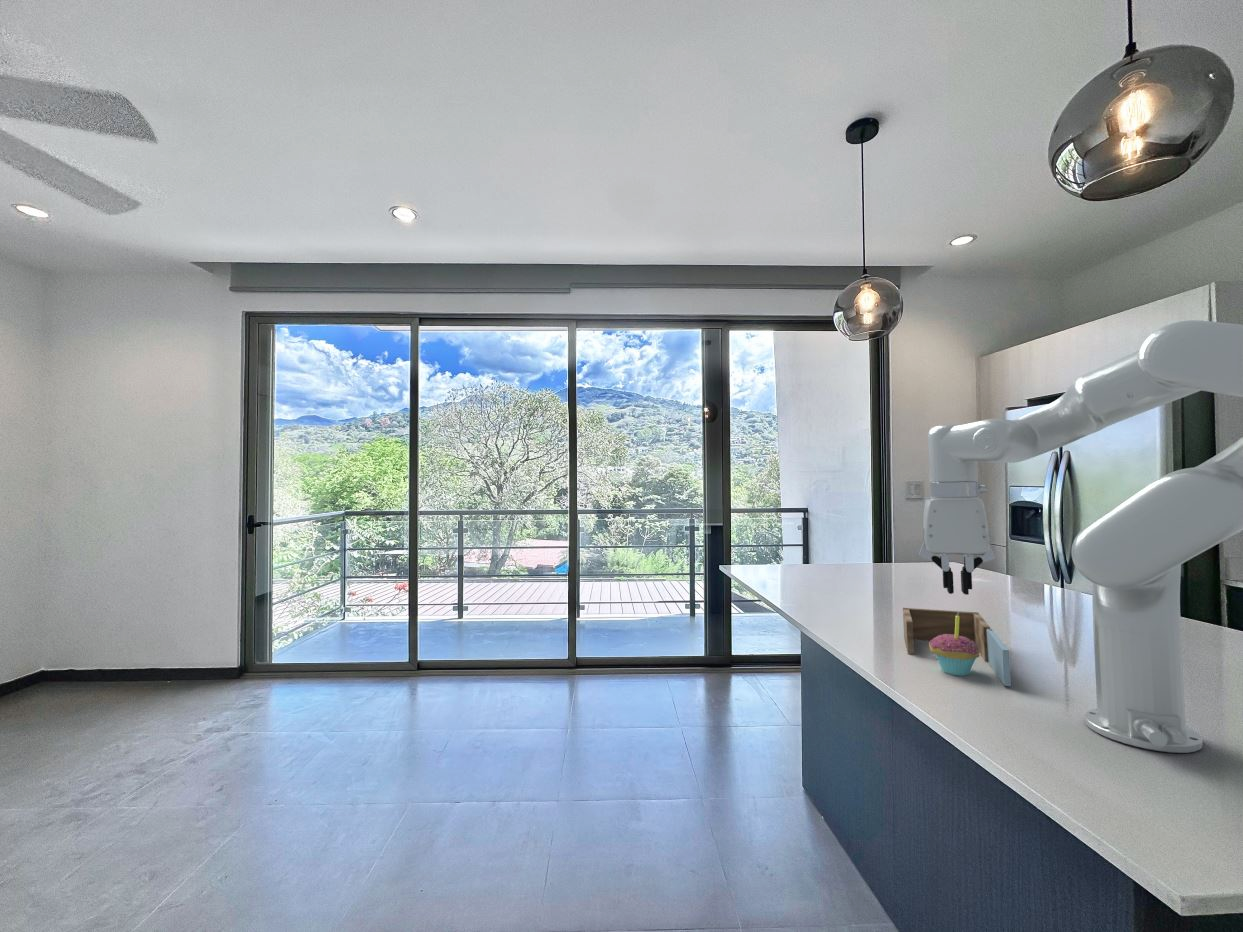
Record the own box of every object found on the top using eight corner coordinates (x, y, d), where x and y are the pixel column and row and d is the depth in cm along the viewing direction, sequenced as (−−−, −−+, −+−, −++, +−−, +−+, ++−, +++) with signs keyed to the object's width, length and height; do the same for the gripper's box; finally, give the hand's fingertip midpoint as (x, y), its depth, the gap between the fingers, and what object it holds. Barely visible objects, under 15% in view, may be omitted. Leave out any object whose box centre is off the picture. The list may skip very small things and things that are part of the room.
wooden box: (991, 661, 114) (990, 627, 114) (907, 654, 120) (906, 621, 121) (979, 643, 127) (978, 612, 127) (904, 637, 133) (902, 607, 133)
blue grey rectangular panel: (993, 660, 114) (991, 629, 114) (1010, 686, 100) (1009, 650, 100) (987, 660, 114) (986, 628, 114) (1004, 685, 100) (1002, 649, 100)
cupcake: (990, 678, 105) (987, 614, 105) (945, 679, 105) (942, 615, 105) (963, 664, 113) (961, 604, 114) (921, 664, 113) (919, 605, 114)
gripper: (1000, 490, 102) (1004, 591, 102) (904, 492, 109) (907, 586, 108) (1009, 491, 95) (1014, 599, 95) (906, 493, 102) (910, 594, 101)
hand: (957, 592), depth 101 cm, fingers closed
